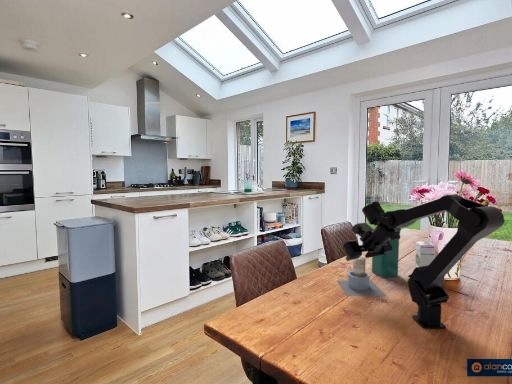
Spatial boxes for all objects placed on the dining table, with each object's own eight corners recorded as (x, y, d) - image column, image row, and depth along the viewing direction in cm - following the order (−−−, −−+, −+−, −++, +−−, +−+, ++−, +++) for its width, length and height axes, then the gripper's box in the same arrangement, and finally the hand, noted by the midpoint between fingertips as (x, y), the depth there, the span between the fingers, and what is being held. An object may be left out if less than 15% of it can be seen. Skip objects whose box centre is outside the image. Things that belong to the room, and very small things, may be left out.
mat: (386, 297, 102) (386, 296, 102) (346, 296, 103) (346, 295, 102) (372, 281, 116) (372, 280, 116) (336, 281, 116) (336, 280, 116)
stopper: (364, 287, 108) (365, 260, 108) (351, 285, 110) (352, 259, 109) (365, 283, 112) (366, 257, 112) (353, 281, 114) (353, 256, 113)
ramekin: (372, 290, 107) (372, 278, 107) (350, 289, 107) (351, 277, 107) (365, 281, 115) (365, 270, 115) (345, 281, 115) (345, 270, 115)
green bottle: (382, 278, 119) (384, 225, 118) (369, 271, 127) (371, 221, 126) (402, 276, 122) (404, 224, 120) (388, 269, 130) (390, 220, 128)
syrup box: (435, 280, 117) (436, 245, 116) (419, 279, 118) (420, 244, 117) (429, 275, 122) (431, 241, 121) (414, 274, 124) (415, 241, 123)
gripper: (387, 215, 109) (364, 238, 120) (347, 218, 102) (327, 242, 113) (404, 240, 103) (379, 262, 114) (363, 246, 95) (340, 269, 106)
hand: (356, 258), depth 112 cm, fingers open, 9 cm apart
